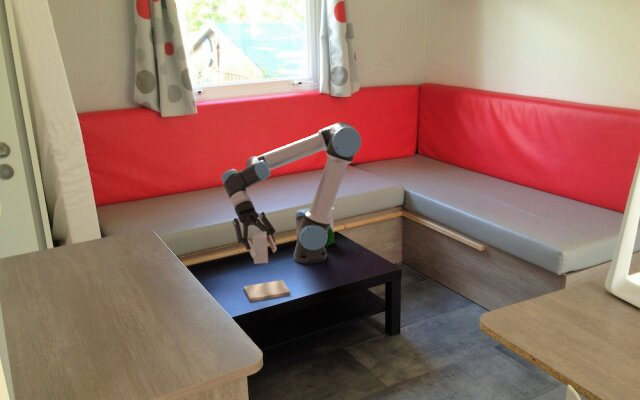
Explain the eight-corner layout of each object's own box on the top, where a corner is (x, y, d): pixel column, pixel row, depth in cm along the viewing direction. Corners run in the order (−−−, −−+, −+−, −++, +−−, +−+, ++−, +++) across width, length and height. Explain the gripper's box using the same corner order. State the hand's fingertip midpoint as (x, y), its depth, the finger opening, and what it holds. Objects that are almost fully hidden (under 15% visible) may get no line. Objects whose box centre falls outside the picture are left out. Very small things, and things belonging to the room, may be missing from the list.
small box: (268, 263, 213) (266, 237, 210) (253, 264, 213) (252, 238, 210) (268, 255, 221) (266, 230, 218) (254, 256, 220) (252, 231, 217)
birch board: (282, 282, 227) (282, 279, 226) (290, 294, 216) (290, 291, 215) (244, 289, 222) (243, 286, 222) (250, 301, 211) (250, 298, 211)
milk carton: (312, 245, 267) (310, 205, 261) (322, 239, 274) (321, 201, 268) (327, 248, 262) (326, 208, 256) (337, 242, 269) (336, 203, 264)
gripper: (262, 204, 230) (284, 251, 222) (216, 214, 218) (237, 264, 210) (268, 195, 224) (291, 242, 216) (221, 204, 212) (243, 255, 204)
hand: (264, 253), depth 213 cm, fingers closed on small box, 8 cm apart
